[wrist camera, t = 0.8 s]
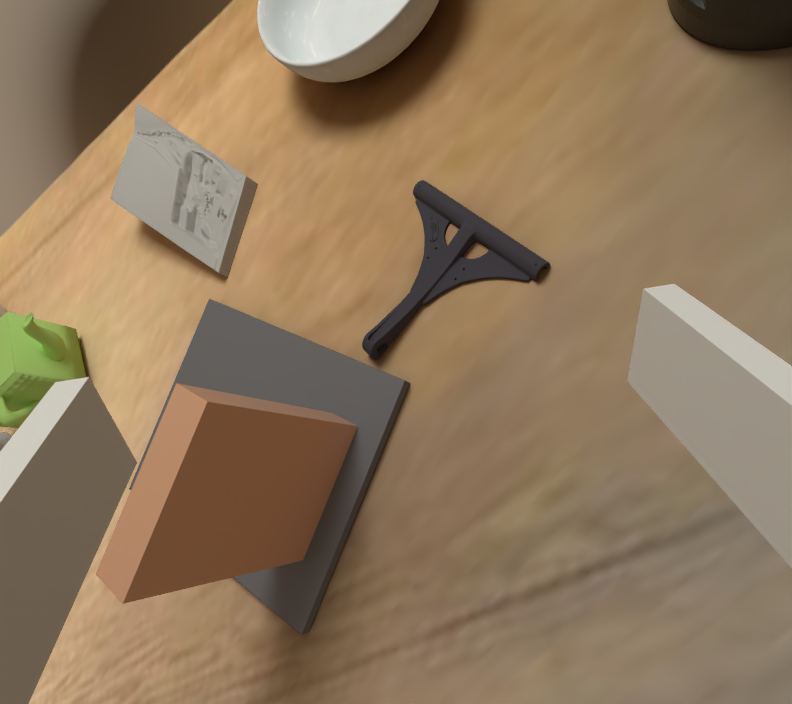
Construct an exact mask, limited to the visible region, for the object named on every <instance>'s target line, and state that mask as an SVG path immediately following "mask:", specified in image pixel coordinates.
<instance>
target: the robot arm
mask: <svg viewBox="0 0 792 704" xmlns="http://www.w3.org/2000/svg"><path fill="white" fill-rule="evenodd" d="M668 4H669V7H670V10H671V12H672V14H673V16H674V18H675V19H676V21H677V22H678V23H679V24H680V25H681V26H682V27H683V28H684V29H685V30H686V31H687V32H689V33H690V34H691V35H693V36H695V37H696V38H698V39H700V40H702V41H705V42H707V43H710V44H713V45H716V46H720V47H725V48H731V49H740V50H763V49H773V48H781V47H786V46H791V45H792V0H668ZM627 381H628V383H629V384H630V385H631V386H632V387H633V388H634V389H635V391H636V392H637V393H638V394H639V395H640V396H641V397H642V398H643V400H644V401H645V402H646V403H647V404H648V405H649V406H650V408H651V409H652V410H653V411H654V412H655V413H656V414H657V416H658V417H659V418H660V419H661V420H662V421H663V422H664V423H665V425H666V426H667V427H668V428H669V429H670V430H671V431H672V433H673V434H674V435H675V436H676V437H677V438H678V439H679V441H680V442H681V443H682V444H683V445H684V446H685V447H686V449H687V450H688V451H689V452H690V453H691V454H692V455H693V456H694V458H695V459H696V460H697V461H698V462H699V463H700V464H701V466H702V467H703V468H704V469H705V470H706V471H707V472H708V474H709V475H710V476H711V477H712V478H713V479H714V480H715V482H716V483H717V484H718V485H719V486H720V487H721V488H722V489H723V491H724V492H725V493H726V494H727V495H728V496H729V497H730V499H731V500H732V501H733V502H734V503H735V504H736V505H737V507H738V508H739V509H740V510H741V511H742V512H743V513H744V514H745V516H746V517H747V518H748V519H749V520H750V521H751V522H752V524H753V525H754V526H755V527H756V528H757V529H758V530H759V532H760V533H761V534H762V535H763V536H764V537H765V538H766V540H767V541H768V542H769V543H770V544H771V545H772V546H773V547H774V549H775V550H776V551H777V552H778V553H779V554H780V555H781V557H782V558H783V559H784V560H785V561H786V562H787V563H788V565H789V566H790V567H791V568H792V366H791V365H789V364H788V363H786V362H785V361H783V360H782V359H781V358H779V357H778V356H776V355H775V354H773V353H772V352H771V351H769V350H768V349H766V348H765V347H764V346H762V345H761V344H759V343H758V342H756V341H755V340H754V339H752V338H751V337H749V336H748V335H746V334H745V333H744V332H742V331H741V330H739V329H738V328H736V327H735V326H734V325H732V324H731V323H729V322H728V321H727V320H725V319H724V318H722V317H721V316H719V315H718V314H717V313H715V312H714V311H712V310H711V309H709V308H708V307H707V306H705V305H704V304H702V303H701V302H699V301H698V300H697V299H695V298H694V297H692V296H691V295H690V294H688V293H687V292H685V291H684V290H682V289H681V288H680V287H678V286H677V285H675V284H670V285H664V286H658V287H651V288H645V289H643V294H642V300H641V305H640V311H639V317H638V323H637V328H636V334H635V340H634V346H633V351H632V357H631V363H630V368H629V374H628V380H627ZM136 463H137V462H136V460H135V458H134V456H133V455H132V453H131V451H130V449H129V447H128V446H127V444H126V442H125V440H124V438H123V437H122V435H121V433H120V431H119V430H118V428H117V426H116V424H115V422H114V421H113V419H112V417H111V415H110V413H109V412H108V410H107V408H106V406H105V404H104V403H103V401H102V399H101V397H100V396H99V394H98V392H97V390H96V388H95V387H94V385H93V383H92V381H91V379H90V378H89V377H85V378H79V379H73V380H67V381H60V382H55V383H54V385H53V386H52V387H51V388H50V390H49V391H48V392H47V393H46V395H45V396H44V397H43V398H42V400H41V401H40V402H39V403H38V405H37V406H36V407H35V408H34V410H33V411H32V412H31V413H30V415H29V416H28V417H27V418H26V420H25V421H24V422H23V424H22V425H21V426H20V427H19V429H18V430H17V431H16V432H15V434H14V435H13V436H12V437H11V439H10V440H9V441H8V442H7V444H6V445H5V446H4V447H3V449H2V450H1V451H0V704H28V703H29V701H30V699H31V696H32V694H33V692H34V690H35V688H36V685H37V683H38V681H39V679H40V677H41V674H42V672H43V670H44V668H45V665H46V663H47V661H48V659H49V657H50V654H51V652H52V650H53V648H54V645H55V643H56V641H57V639H58V637H59V634H60V632H61V630H62V628H63V625H64V623H65V621H66V619H67V617H68V614H69V612H70V610H71V608H72V606H73V603H74V601H75V599H76V597H77V594H78V592H79V590H80V588H81V586H82V583H83V581H84V579H85V577H86V574H87V572H88V570H89V568H90V566H91V563H92V561H93V559H94V557H95V554H96V552H97V550H98V548H99V546H100V543H101V541H102V539H103V537H104V534H105V532H106V530H107V528H108V526H109V523H110V521H111V519H112V517H113V515H114V512H115V510H116V508H117V506H118V503H119V501H120V499H121V497H122V495H123V492H124V490H125V488H126V486H127V483H128V481H129V479H130V477H131V475H132V472H133V470H134V468H135V466H136Z"/></svg>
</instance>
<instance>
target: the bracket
mask: <svg viewBox="0 0 792 704" xmlns="http://www.w3.org/2000/svg"><path fill="white" fill-rule="evenodd" d="M413 194H414V196H415V197H416V198H417V200H416V205H417V207H418V209H419V212H420V214H421V217H422V221H423V226H424V234H425V247H424V257H423V260H422V264H421V267H420V270H419V273H418V276H417V278H416V280H415V282H414V284H413V286H412V288H411V291H410V293H409V294H408V295H407V296H406V297H405V298H404V299H403V300H402V301H401V303H400V304H399V305H398V306H396V307H395V308H394V309H393V310H392V311H391V312H390V313H389V314H388V315H387V316H386V317H385V318H384V319H383V320H382V321H381V322H380V323H379V324H378V325H377V326H375V327H374V328H373V329H372V330H371V331H369V332H368V333H367V334H366V335H365V337H364V339H363V343H362V347H363V349H364V350H365V351H366V352H367V353H368V354H369V355H370V356H371V358H373V359H379V358H380V357H381V356H382V354H383V353H384V352H385V351H386V349H387V348H388V347H389V346H390V345H391V343H392V342H393V341H394V340H395V338H396V337H397V336H398V335H399V333H400V332H401V331H402V330H403V329H404V327H405V326H406V325H407V324H408V322H409V321H410V320H411V319H412V317H413V316H414V315H415V314H416V313H417V311H418V310H419V309H420V308H421V306H422V305H423V304H424V305H426V304H427V303H429V302H430V301H432V300H433V299H434V298H436V297H437V296H439V295H440V294H442V293H444V292H445V291H447V290H449V289H451V288H453V287H455V286H458V285H460V284H462V283H466V282H471V281H475V280H481V279H491V278H504V279H514V280H520V281H526V282H528V281H530V279H531V278H532V279H534V280H535V281H537V280H538V277H537V275H538V272H539V271H540V270H541V268H543V267H544V268H546V269H547V268H548V267H549V266H550V263H549V262H547V261H546V260H544V259H543V258H541V257H539V256H538V255H536V254H535V253H533V252H532V251H530V250H529V249H527V248H526V247H524V246H523V245H521V244H520V243H518V242H517V241H515V240H514V239H512V238H511V237H509V236H508V235H506V234H505V233H503V232H502V231H500V230H499V229H497V228H496V227H494V226H493V225H491V224H490V223H488V222H486V221H485V220H483V219H482V218H480V217H479V216H477V215H476V214H474V213H473V212H471V211H470V210H468V209H467V208H465V207H464V206H462V205H461V204H459V203H458V202H456V201H455V200H453V199H452V198H450V197H449V196H447V195H446V194H444V193H443V192H441V191H440V190H438V189H437V188H435V187H433V186H432V185H430V184H429V183H427V182H426V181H424V180H421V181H419V182H418V183H417V184H416V185H415V187H414V190H413ZM450 222H452V223H453V224H455V225H456V226H458V227H459V228H460V229H459V231H458V232H457V233H456V235H455V236H454V238H453V239H452V241H451V242H450V243H449V245H448V246H447V244H446V241H445V233H446V230H447V227H448V225H449V224H450ZM476 241H479V242H481V243H482V244H484V245H485V246H487V247H488V248H489V249H490V251H489V252H487V253H486V254H485V255H483V256H481V257H479V258H476V259H466V258H463V257H462V256H463V255H464V253H465V252H466V251H467V250H468V249H469V248H470V246H471V245H472V244H473V243H474V242H476ZM382 344H383V345H382ZM380 345H382V346H381V348H379V349H378V347H379V346H380ZM377 349H378V350H377Z"/></svg>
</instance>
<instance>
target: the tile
mask: <svg viewBox="0 0 792 704" xmlns="http://www.w3.org/2000/svg"><path fill="white" fill-rule="evenodd" d="M357 427H358V426H357V425H355V424H353V423H351V422H349V421H347V420H345V419H343V418H341V417H339V416H337V415H335V414H333V413H330V412H325V411H320V410H315V409H309V408H304V407H299V406H294V405H288V404H283V403H278V402H273V401H267V400H262V399H257V398H252V397H246V396H241V395H236V394H231V393H226V392H220V391H215V390H210V389H205V388H199V387H194V386H189V385H184V384H178V383H176V385H175V388H174V390H173V392H172V395H171V397H170V399H169V402H168V404H167V407H166V409H165V411H164V414H163V416H162V418H161V421H160V423H159V426H158V428H157V430H156V433H155V435H154V437H153V440H152V442H151V444H150V447H149V449H148V452H147V454H146V456H145V459H144V461H143V463H142V466H141V468H140V471H139V473H138V475H137V478H136V480H135V482H134V485H133V487H132V490H131V492H130V494H129V497H128V499H127V501H126V504H125V506H124V509H123V511H122V513H121V516H120V518H119V520H118V523H117V525H116V528H115V530H114V532H113V535H112V537H111V539H110V542H109V544H108V547H107V549H106V551H105V554H104V556H103V558H102V561H101V563H100V565H99V568H98V570H97V573H96V575H97V576H98V577H99V578H100V579H101V580H102V581H103V583H104V584H105V585H106V586H107V587H108V588H109V589H110V590H111V591H112V592H113V593H114V595H115V596H116V597H117V598H118V599H119V600H120V601H121V602H122V603H127V602H131V601H136V600H140V599H144V598H148V597H152V596H156V595H161V594H165V593H169V592H173V591H177V590H182V589H186V588H190V587H194V586H198V585H202V584H207V583H211V582H215V581H219V580H223V579H227V578H232V577H236V576H240V575H244V574H248V573H253V572H257V571H261V570H265V569H269V568H273V567H278V566H282V565H286V564H290V563H294V562H298V561H303V559H304V557H305V554H306V552H307V549H308V547H309V545H310V542H311V540H312V537H313V535H314V532H315V530H316V527H317V525H318V523H319V520H320V518H321V515H322V513H323V510H324V508H325V505H326V503H327V501H328V498H329V496H330V493H331V491H332V488H333V486H334V483H335V481H336V479H337V476H338V474H339V471H340V469H341V466H342V464H343V461H344V459H345V457H346V454H347V452H348V449H349V447H350V444H351V442H352V439H353V437H354V434H355V432H356V430H357Z"/></svg>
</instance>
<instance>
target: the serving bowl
mask: <svg viewBox="0 0 792 704" xmlns="http://www.w3.org/2000/svg"><path fill="white" fill-rule="evenodd" d="M438 2H439V0H259V1H258V11H257V19H258V29H259V33H260V37H261V39H262V42H263V44H264V46H265V47H266V49H267V50H268V52H269V53H270V54H271V55H272V56H273V57H274V58H275V59H276V60H278V61H279V62H280V63H282V64H283V65H284V66H285V67H287V68H288V69H290V70H291V71H293V72H295V73H296V74H299V75H301V76H303V77H305V78H308V79H311V80H315V81H320V82H344V81H349V80H353V79H357V78H360V77H363V76H365V75H368V74H370V73H372V72H374V71H376V70H378V69H379V68H381V67H383V66H385V65H386V64H388V63H389V62H390V61H392V60H393V59H394V58H396V57H397V56H398V55H399V54H400V53H402V52H403V51H404V50H405V49H406V48H407V47H408V46H409V45H410V44H411V43H412V42H413V41H414V39H415V38H416V37H417V36H418V35H419V33H420V32H421V31H422V29H423V28H424V27H425V25H426V24H427V22H428V20H429V19H430V17H431V16H432V14H433V12H434V10H435V8H436V6H437V4H438Z"/></svg>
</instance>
